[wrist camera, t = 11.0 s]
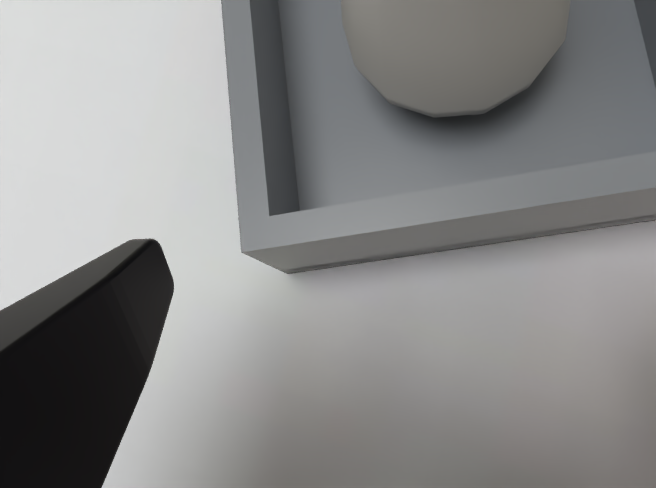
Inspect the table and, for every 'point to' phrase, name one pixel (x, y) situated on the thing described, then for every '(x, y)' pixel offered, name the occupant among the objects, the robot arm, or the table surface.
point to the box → (432, 142)
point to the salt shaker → (452, 49)
